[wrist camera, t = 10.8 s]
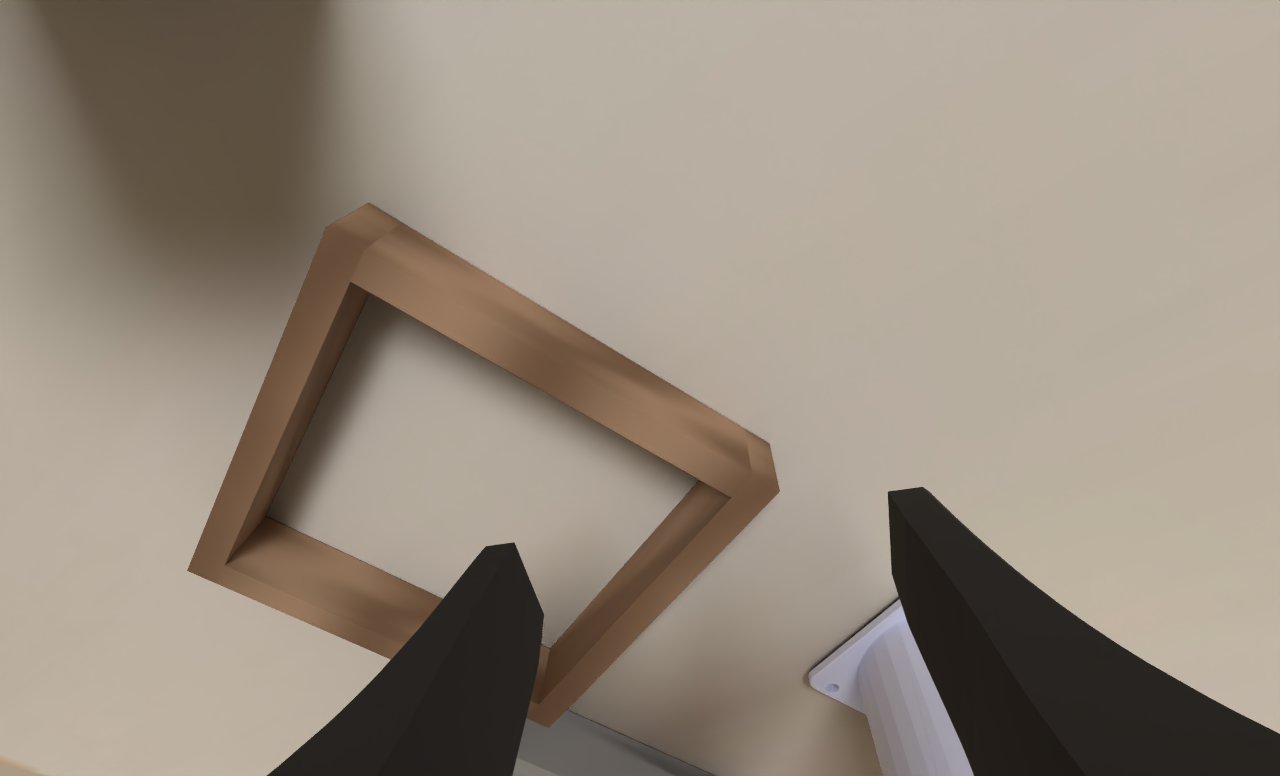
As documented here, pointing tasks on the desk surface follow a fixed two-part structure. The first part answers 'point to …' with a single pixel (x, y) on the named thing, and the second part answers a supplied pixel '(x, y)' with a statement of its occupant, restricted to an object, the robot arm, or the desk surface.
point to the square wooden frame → (525, 346)
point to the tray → (590, 752)
